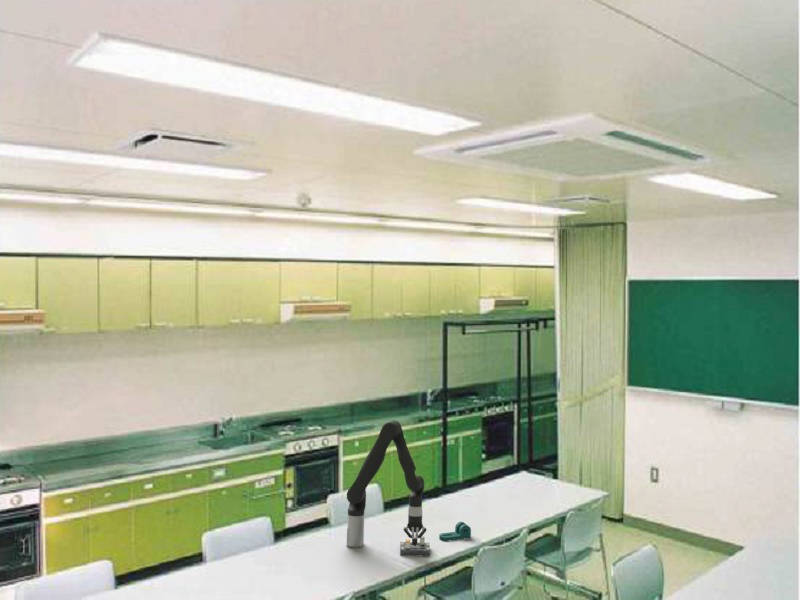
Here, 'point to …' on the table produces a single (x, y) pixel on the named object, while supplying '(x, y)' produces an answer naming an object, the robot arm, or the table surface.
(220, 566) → the table surface
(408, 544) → the block
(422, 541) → the block
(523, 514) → the table surface
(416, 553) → the panel
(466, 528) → the bracket
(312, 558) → the table surface
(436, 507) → the table surface
